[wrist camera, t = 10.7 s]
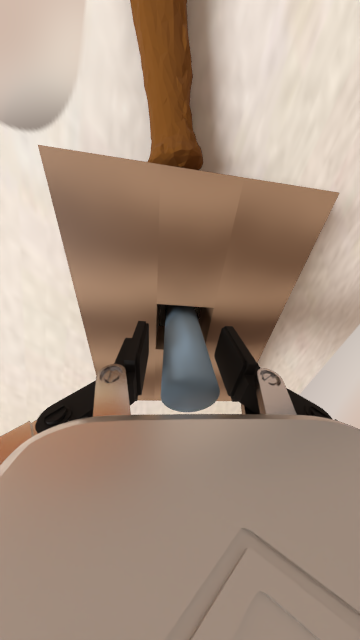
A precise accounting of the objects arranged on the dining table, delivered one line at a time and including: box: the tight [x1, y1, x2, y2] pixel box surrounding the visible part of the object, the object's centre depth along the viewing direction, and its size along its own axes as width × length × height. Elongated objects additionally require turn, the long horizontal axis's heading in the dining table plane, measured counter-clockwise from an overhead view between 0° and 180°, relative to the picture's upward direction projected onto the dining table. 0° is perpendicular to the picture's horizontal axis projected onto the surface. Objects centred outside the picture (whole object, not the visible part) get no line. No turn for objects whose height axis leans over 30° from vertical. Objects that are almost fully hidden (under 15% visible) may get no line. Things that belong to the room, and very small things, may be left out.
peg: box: [161, 305, 220, 412], centre depth 12 cm, size 3×3×10 cm
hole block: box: [38, 145, 339, 401], centre depth 15 cm, size 20×16×4 cm
